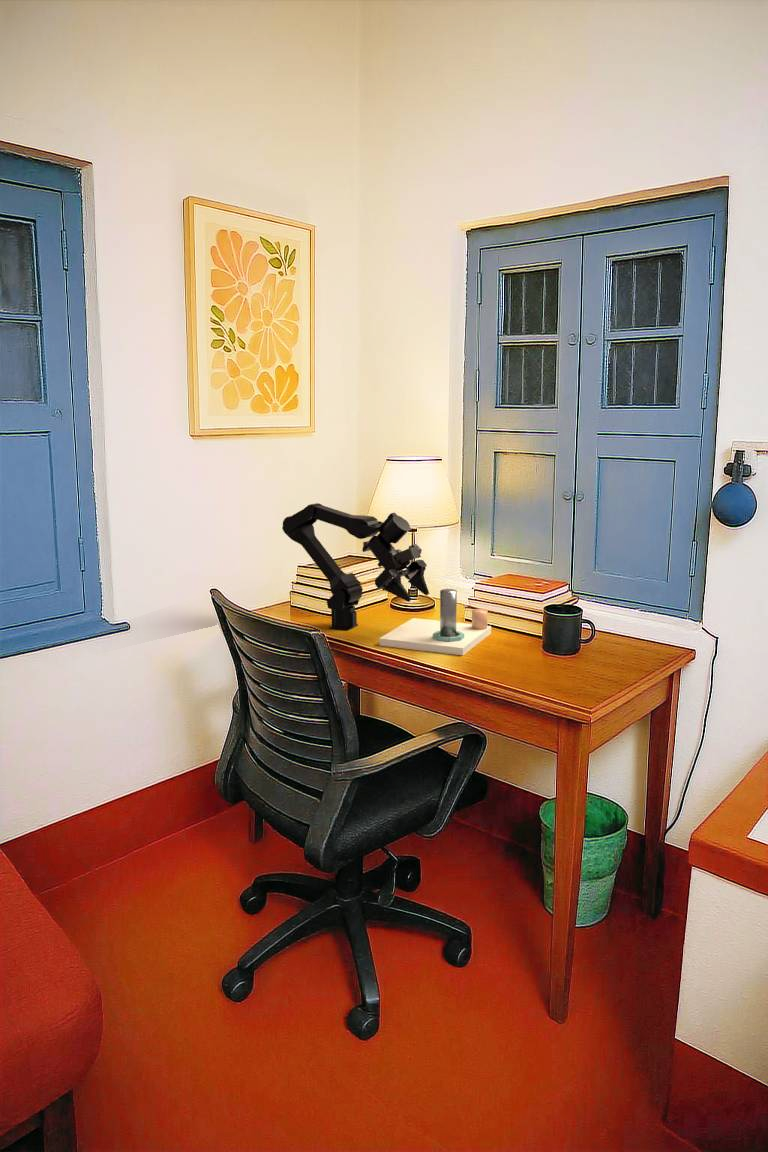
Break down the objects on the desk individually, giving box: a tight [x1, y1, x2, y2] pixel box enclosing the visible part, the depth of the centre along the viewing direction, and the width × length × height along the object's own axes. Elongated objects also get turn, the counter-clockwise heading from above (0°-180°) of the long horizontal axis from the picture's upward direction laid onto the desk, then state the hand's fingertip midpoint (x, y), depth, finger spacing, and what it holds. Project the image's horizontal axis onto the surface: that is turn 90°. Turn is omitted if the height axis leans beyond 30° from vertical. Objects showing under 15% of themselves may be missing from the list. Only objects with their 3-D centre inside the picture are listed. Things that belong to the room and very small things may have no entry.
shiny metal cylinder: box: [439, 588, 458, 637], centre depth 237 cm, size 4×4×13 cm
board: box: [378, 617, 492, 656], centre depth 244 cm, size 24×24×3 cm
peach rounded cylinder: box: [471, 608, 489, 630], centre depth 247 cm, size 4×4×5 cm
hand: (419, 597), depth 241 cm, fingers open, 9 cm apart
